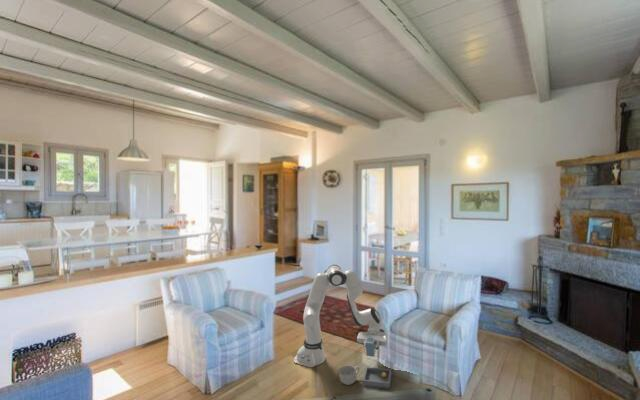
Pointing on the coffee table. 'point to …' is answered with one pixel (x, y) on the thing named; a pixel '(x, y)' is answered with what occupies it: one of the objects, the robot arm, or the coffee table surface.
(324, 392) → the coffee table surface
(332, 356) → the coffee table surface
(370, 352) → the shaker
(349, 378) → the teacup
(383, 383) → the tray
